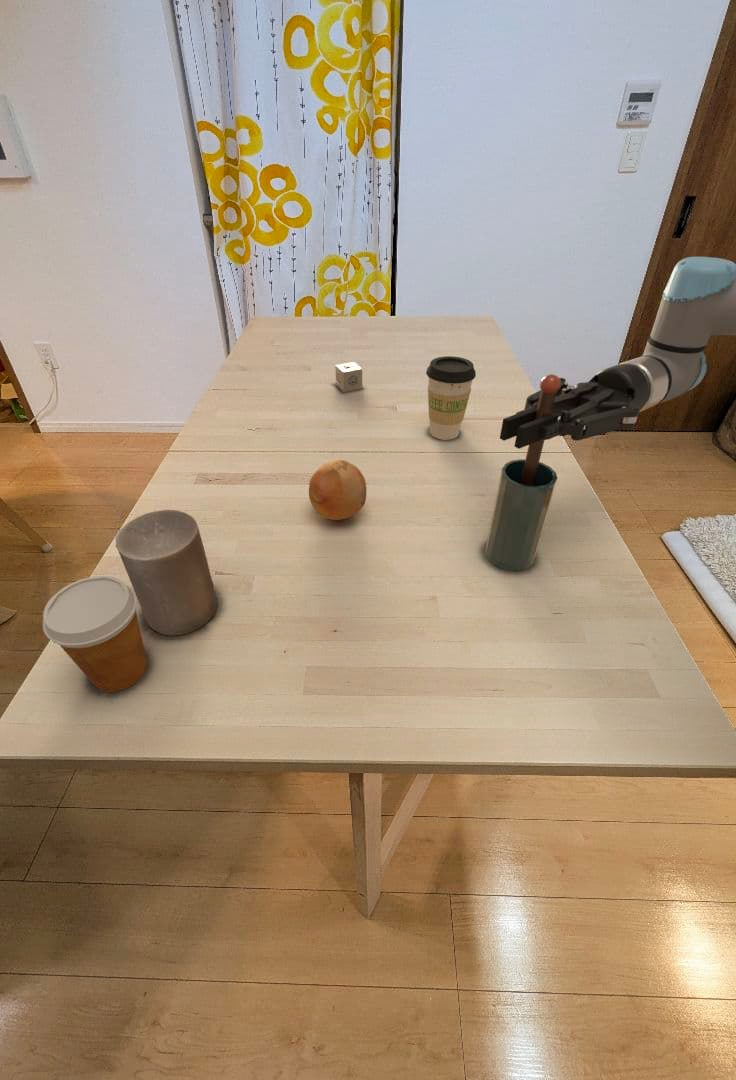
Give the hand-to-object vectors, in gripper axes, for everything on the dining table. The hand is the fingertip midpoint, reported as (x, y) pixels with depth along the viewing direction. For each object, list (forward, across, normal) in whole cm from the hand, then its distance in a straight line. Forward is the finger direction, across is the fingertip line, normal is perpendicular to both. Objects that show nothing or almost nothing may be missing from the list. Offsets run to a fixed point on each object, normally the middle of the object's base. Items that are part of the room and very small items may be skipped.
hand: (511, 433), depth 64 cm
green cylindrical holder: (-6, 0, -23) cm, 23 cm away
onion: (+11, +24, -23) cm, 35 cm away
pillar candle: (+40, +18, -23) cm, 50 cm away
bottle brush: (-6, 0, -20) cm, 21 cm away
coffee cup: (-24, +36, -23) cm, 49 cm away
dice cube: (-20, +68, -23) cm, 74 cm away
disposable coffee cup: (+50, +12, -23) cm, 56 cm away
